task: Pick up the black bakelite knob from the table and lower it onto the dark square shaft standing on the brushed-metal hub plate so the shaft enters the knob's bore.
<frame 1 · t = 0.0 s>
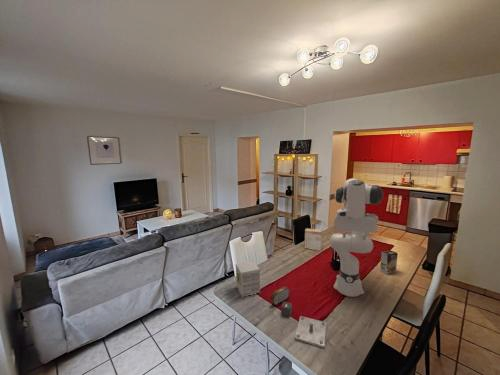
hand: (354, 238, 114), 48 cm above the table, fingers open, 8 cm apart
coffeecake box: (313, 249, 216), on the table
hub plate: (311, 331, 115), on the table
knob: (286, 313, 129), on the table
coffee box: (388, 272, 171), on the table
supplement box: (248, 290, 152), on the table
tin: (280, 301, 140), on the table
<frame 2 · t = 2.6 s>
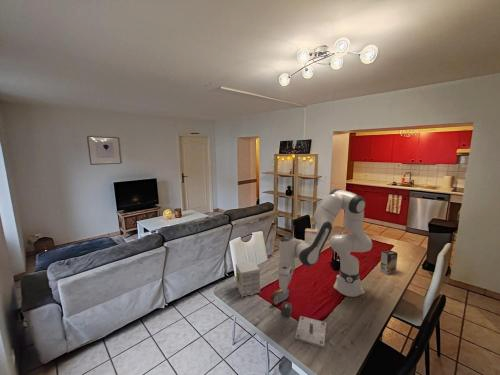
hand: (286, 287, 127), 16 cm above the table, fingers open, 8 cm apart
nothing on the table moved.
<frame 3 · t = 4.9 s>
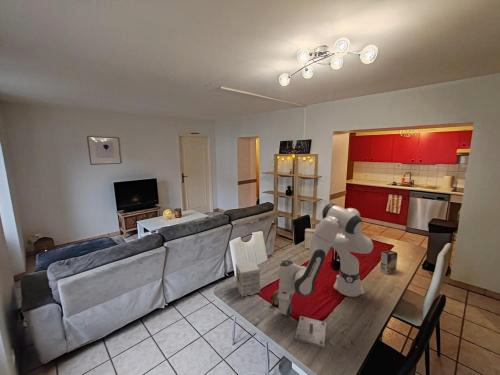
hand: (286, 310, 129), 2 cm above the table, fingers closed on knob, 5 cm apart
knob: (286, 313, 129), on the table, touching gripper
everything else where it was.
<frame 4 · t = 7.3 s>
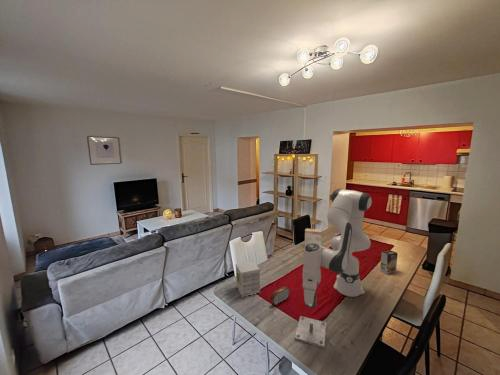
hand: (311, 301, 113), 17 cm above the table, fingers closed on knob, 5 cm apart
knob: (310, 304, 113), point 15 cm above the table, touching gripper
everything else where it was.
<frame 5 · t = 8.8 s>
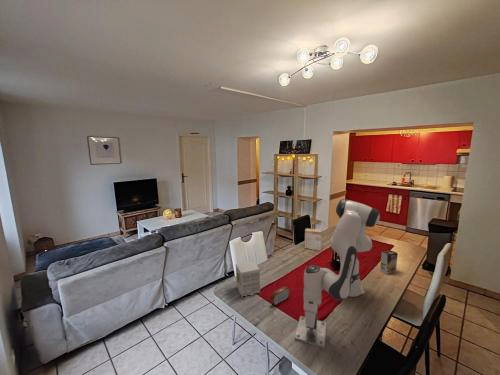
hand: (311, 322, 114), 6 cm above the table, fingers closed on knob, 5 cm apart
knob: (311, 325, 114), point 4 cm above the table, touching gripper
everything else where it was.
when the fingers open (4 cm above the table, at t = 9.9 s): knob drops 2 cm, resting on hub plate.
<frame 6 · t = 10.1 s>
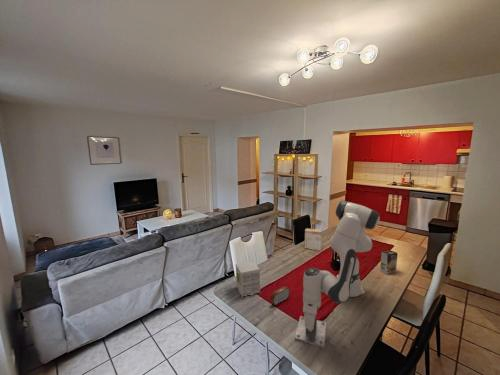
hand: (311, 324, 115), 4 cm above the table, fingers open, 7 cm apart
knob: (311, 329, 115), point 1 cm above the table, touching hub plate
everything else where it was.
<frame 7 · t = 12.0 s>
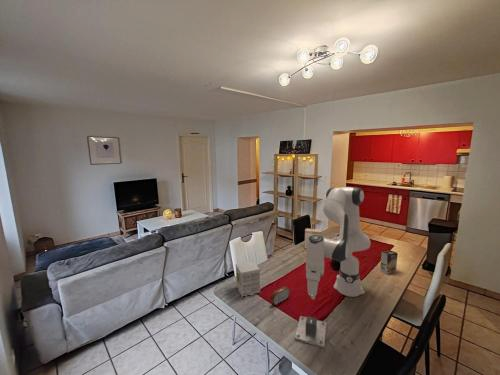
hand: (314, 292, 113), 21 cm above the table, fingers open, 8 cm apart
nothing on the table moved.
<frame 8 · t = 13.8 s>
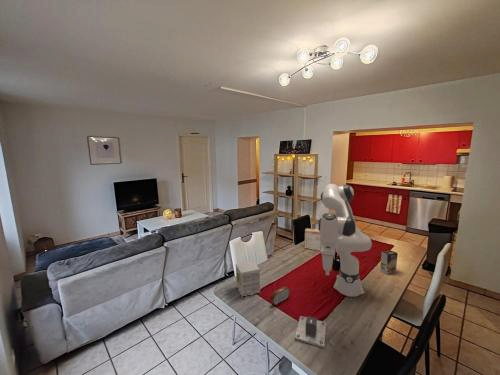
hand: (328, 270, 116), 31 cm above the table, fingers open, 8 cm apart
nothing on the table moved.
at the end: knob 0.0 cm off-centre on the hub plate, point 1.2 cm above the hub plate's base; knob tilted 0°; the gripper is holding nothing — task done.
